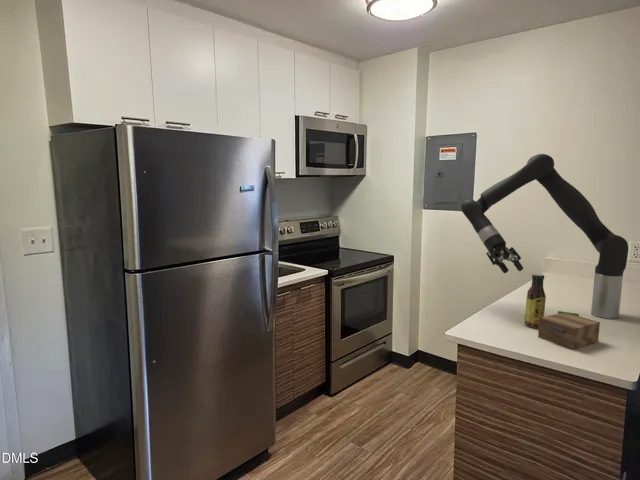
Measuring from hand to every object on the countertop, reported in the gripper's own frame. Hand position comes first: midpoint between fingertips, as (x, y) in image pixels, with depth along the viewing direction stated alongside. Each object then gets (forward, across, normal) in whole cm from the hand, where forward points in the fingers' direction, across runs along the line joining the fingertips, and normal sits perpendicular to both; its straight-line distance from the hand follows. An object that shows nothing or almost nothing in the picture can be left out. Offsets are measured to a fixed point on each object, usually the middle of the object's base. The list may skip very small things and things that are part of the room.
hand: (514, 271), depth 157 cm
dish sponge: (+23, +16, +5) cm, 29 cm away
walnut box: (+30, -2, -3) cm, 31 cm away
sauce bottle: (+21, 0, +7) cm, 22 cm away
